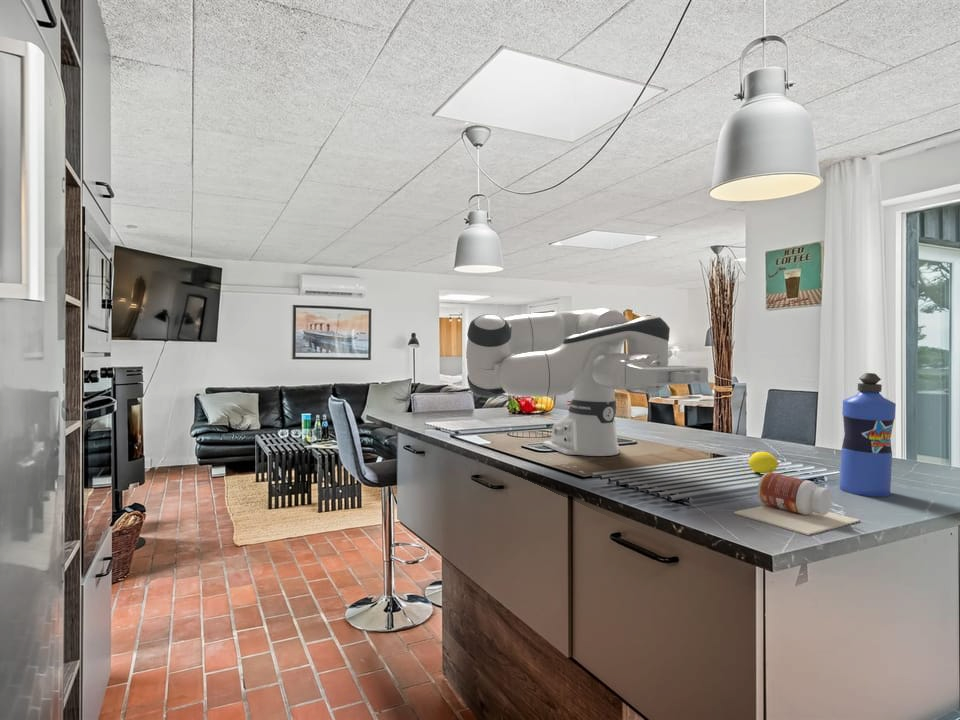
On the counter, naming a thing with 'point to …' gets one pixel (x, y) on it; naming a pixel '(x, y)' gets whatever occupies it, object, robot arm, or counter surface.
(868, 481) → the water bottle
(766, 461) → the lemon
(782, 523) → the mat
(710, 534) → the counter surface
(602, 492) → the counter surface
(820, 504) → the pill bottle
